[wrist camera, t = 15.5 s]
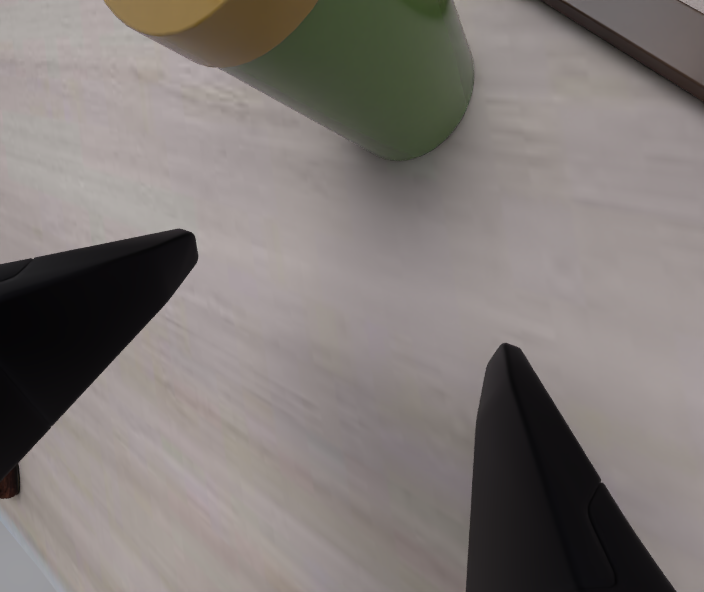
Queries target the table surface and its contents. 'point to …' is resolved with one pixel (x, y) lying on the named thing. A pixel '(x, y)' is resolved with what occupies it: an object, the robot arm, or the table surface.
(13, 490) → the pastry
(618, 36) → the spoon
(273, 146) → the table surface
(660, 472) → the table surface
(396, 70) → the pickle jar
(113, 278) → the robot arm
